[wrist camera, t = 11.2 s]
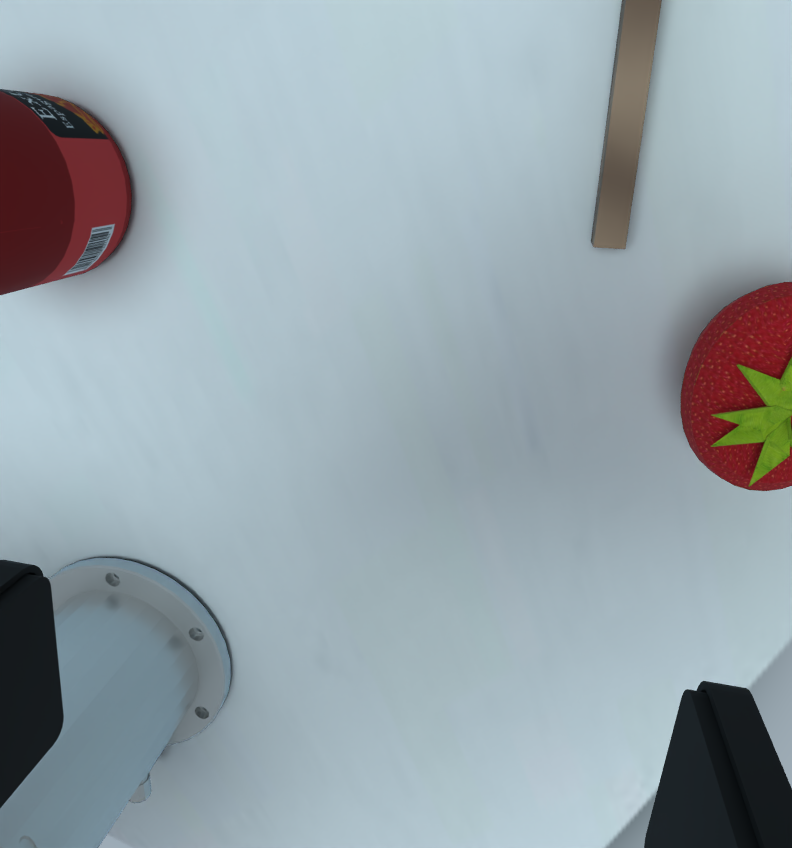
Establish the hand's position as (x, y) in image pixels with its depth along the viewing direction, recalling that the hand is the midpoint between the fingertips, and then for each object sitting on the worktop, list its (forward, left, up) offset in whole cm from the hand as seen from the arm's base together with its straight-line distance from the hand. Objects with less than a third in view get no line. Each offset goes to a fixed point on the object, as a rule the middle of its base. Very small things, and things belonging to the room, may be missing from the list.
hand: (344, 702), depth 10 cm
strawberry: (0, -11, -24) cm, 26 cm away
